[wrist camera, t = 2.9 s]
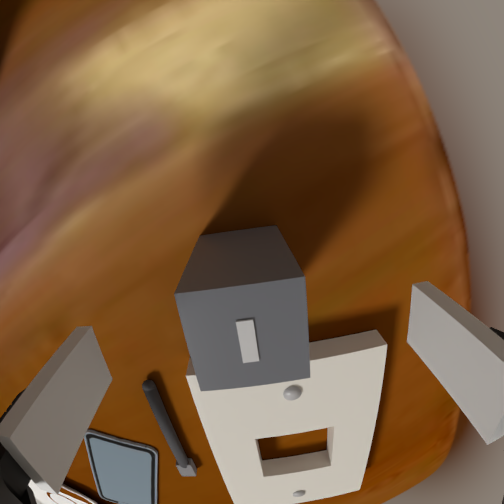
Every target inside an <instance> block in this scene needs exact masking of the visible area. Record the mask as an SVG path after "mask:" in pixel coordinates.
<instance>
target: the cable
mask: <svg viewBox="0 0 504 504" xmlns="http://www.w3.org/2000/svg"><path fill="white" fill-rule="evenodd" d="M142 388H143V390H144V393H145V395H146V397H147V400H148V402H149V404H150V406H151V409H152V411H153V413H154V415H155V417H156V420H157V422H158V424H159V426H160V428H161V430H162V432H163V434H164V436H165V438H166V440H167V442H168V444H169V446H170V448H171V450H172V452H173V454H174V456H175V458H176V460H177V461H176V466H177V468H178V470H179V472H180V474H181V475H182V476H196V473H197V468H196V466H195V464H194V462H193V460H192V458H187V456H186V454H185V452H184V450H183V448H182V446H181V443H180V441H179V439H178V437H177V435H176V432H175V430H174V428H173V426H172V424H171V421H170V419H169V417H168V414H167V412H166V410H165V407H164V405H163V402H162V400H161V397H160V395H159V392H158V390H157V387H156V385H155V383H154V382H153V381H152V380H146V381H144V382H143V384H142Z"/></svg>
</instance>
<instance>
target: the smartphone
mask: <svg viewBox="0 0 504 504" xmlns="http://www.w3.org/2000/svg"><path fill="white" fill-rule="evenodd" d="M84 439H85V443H86V448H87V452H88V456H89V460H90V464H91V468H92V472H93V475H94V479H95V483H96V486H97V489H98V493H99V496H100V497H101V498H103V499H105V500H107V501H111V502H114V503H118V504H157V494H158V491H157V472H158V452H157V450H156V449H154V448H153V447H151V446H148V445H144V444H140V443H139V444H138V443H136V442H135V443H134V442H131V441H128V440H124V439H119V438H116V437H113V436H110V435H107V434H103V433H99V432H97V431H94V430H87V431H86V433H85V435H84Z"/></svg>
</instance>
